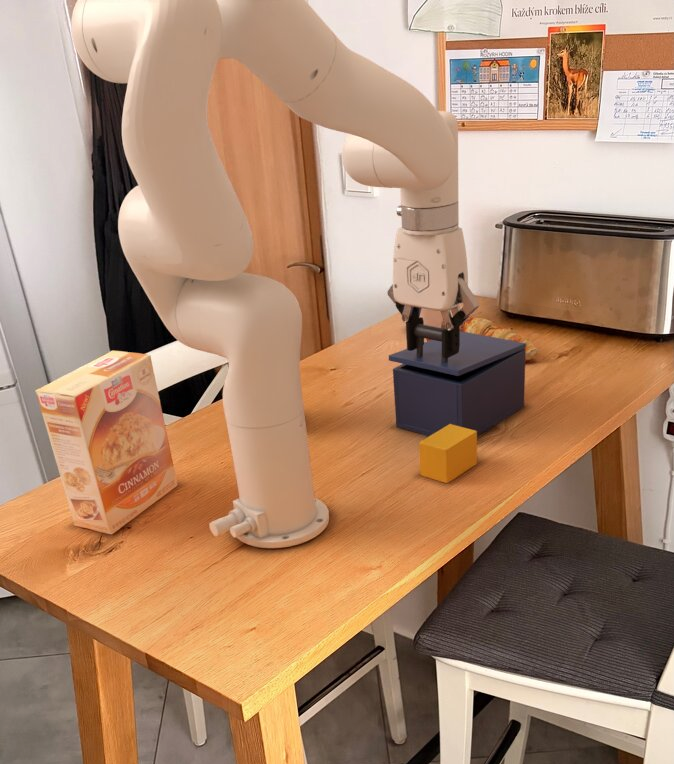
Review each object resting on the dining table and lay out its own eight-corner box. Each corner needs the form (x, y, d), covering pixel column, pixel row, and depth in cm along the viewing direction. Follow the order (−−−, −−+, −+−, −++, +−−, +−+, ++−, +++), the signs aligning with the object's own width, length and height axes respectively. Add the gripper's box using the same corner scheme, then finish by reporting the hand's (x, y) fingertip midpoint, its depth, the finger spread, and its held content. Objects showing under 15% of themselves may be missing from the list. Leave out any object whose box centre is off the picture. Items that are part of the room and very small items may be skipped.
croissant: (542, 375, 160) (552, 328, 159) (526, 367, 151) (536, 318, 150) (432, 361, 170) (440, 317, 168) (411, 353, 161) (419, 306, 159)
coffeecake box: (112, 536, 120) (74, 396, 109) (72, 526, 123) (31, 390, 112) (180, 485, 130) (152, 353, 119) (142, 478, 134) (111, 348, 123)
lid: (458, 376, 126) (459, 337, 123) (388, 360, 133) (388, 323, 131) (525, 348, 136) (528, 311, 134) (457, 335, 144) (458, 300, 141)
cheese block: (447, 483, 123) (446, 450, 120) (420, 475, 126) (418, 442, 123) (477, 463, 127) (477, 430, 124) (450, 456, 130) (450, 423, 127)
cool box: (462, 445, 132) (461, 384, 127) (396, 426, 140) (392, 368, 135) (524, 407, 142) (525, 348, 136) (458, 391, 149) (457, 335, 144)
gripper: (362, 218, 123) (370, 349, 133) (466, 229, 113) (466, 370, 123) (397, 207, 127) (403, 335, 138) (500, 216, 117) (498, 354, 127)
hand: (432, 350), depth 130 cm, fingers closed on lid, 5 cm apart
